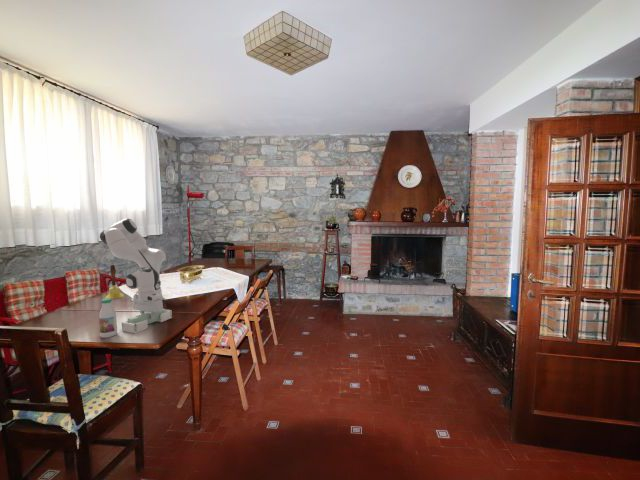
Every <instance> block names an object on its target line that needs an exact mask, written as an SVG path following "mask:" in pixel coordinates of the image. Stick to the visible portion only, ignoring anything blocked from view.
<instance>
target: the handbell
mask: <svg viewBox="0 0 640 480" xmlns="http://www.w3.org/2000/svg"><path fill="white" fill-rule="evenodd" d="M116 271H117V269H116V266H115V264H111V265H110V269H109V273H110V276H111V282H112V283H111V287H110V288H108V294H107V295H106V296H105V298H104V299H106V298H111V299H112V300H115V299H120V298H124V296H125V295H124V294H123V293H121V292H120V287H119V286H117V285H116V273H117V272H116Z"/></svg>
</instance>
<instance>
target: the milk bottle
mask: <svg viewBox="0 0 640 480" xmlns="http://www.w3.org/2000/svg"><path fill="white" fill-rule="evenodd" d="M100 302H101V305H102V306H101V309H100V311H99V315H98V323H99V336H100V338H103V339H105V338H112V337H115V336H116V335H118V323H117V321H118V320H117V312H116V310H115V308H114V307H113V305H112V303H113V299H111V298H106V299H105V298H103V299H101V301H100Z"/></svg>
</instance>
